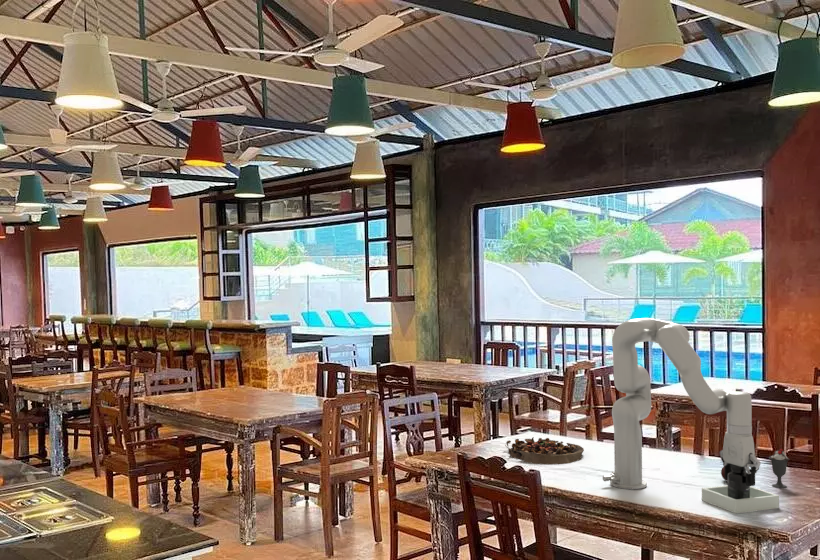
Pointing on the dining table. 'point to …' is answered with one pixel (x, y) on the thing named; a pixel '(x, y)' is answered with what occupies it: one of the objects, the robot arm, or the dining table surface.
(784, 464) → the sundae
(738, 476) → the supplement bottle
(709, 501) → the tray
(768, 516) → the dining table surface
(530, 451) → the food dish
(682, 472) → the dining table surface
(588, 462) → the dining table surface
